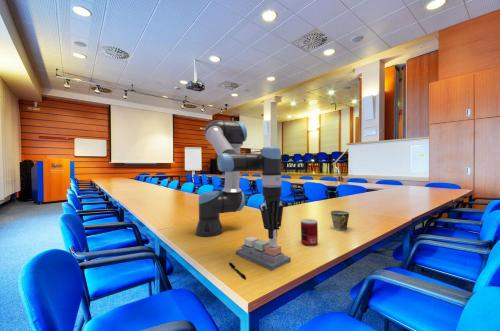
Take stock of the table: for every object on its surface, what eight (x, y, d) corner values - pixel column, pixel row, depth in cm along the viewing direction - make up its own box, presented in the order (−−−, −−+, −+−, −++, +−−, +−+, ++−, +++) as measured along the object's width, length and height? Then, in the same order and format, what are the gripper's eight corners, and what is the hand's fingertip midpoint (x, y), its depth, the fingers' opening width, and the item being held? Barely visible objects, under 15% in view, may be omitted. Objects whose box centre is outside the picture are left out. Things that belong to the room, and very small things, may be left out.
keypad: (235, 254, 94) (235, 245, 94) (253, 247, 101) (253, 239, 101) (272, 270, 78) (271, 260, 78) (290, 261, 86) (290, 252, 86)
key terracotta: (264, 253, 85) (264, 246, 85) (272, 249, 88) (272, 243, 88) (273, 256, 82) (273, 249, 82) (281, 253, 85) (281, 246, 85)
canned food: (319, 242, 106) (319, 220, 106) (314, 247, 99) (314, 223, 100) (304, 239, 110) (304, 218, 110) (298, 244, 104) (298, 221, 104)
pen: (247, 280, 73) (248, 277, 73) (243, 280, 72) (244, 277, 72) (231, 264, 85) (232, 261, 85) (227, 264, 84) (228, 261, 84)
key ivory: (244, 244, 94) (244, 238, 94) (251, 241, 97) (251, 236, 97) (251, 247, 91) (251, 241, 91) (258, 244, 94) (258, 238, 94)
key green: (254, 248, 90) (253, 242, 90) (261, 245, 93) (261, 239, 93) (261, 251, 86) (261, 245, 86) (269, 248, 89) (269, 242, 90)
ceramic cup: (328, 226, 133) (328, 210, 133) (345, 226, 132) (345, 210, 132) (336, 233, 120) (336, 215, 120) (354, 233, 119) (354, 215, 119)
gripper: (267, 187, 78) (268, 253, 78) (289, 185, 87) (290, 244, 87) (253, 186, 84) (254, 248, 83) (275, 184, 92) (276, 239, 92)
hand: (273, 246), depth 85 cm, fingers closed
